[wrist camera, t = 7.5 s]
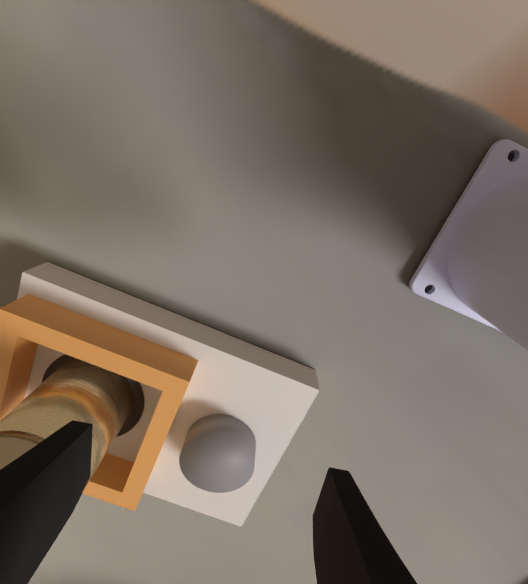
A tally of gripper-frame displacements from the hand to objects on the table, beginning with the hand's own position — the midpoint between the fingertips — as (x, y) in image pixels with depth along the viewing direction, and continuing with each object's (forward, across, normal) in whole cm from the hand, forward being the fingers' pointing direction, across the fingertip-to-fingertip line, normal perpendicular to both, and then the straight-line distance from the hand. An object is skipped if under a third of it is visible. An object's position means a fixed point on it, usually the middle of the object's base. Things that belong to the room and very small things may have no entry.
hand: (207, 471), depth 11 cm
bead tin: (+8, +7, +4) cm, 11 cm away
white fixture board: (+10, +4, +5) cm, 12 cm away
